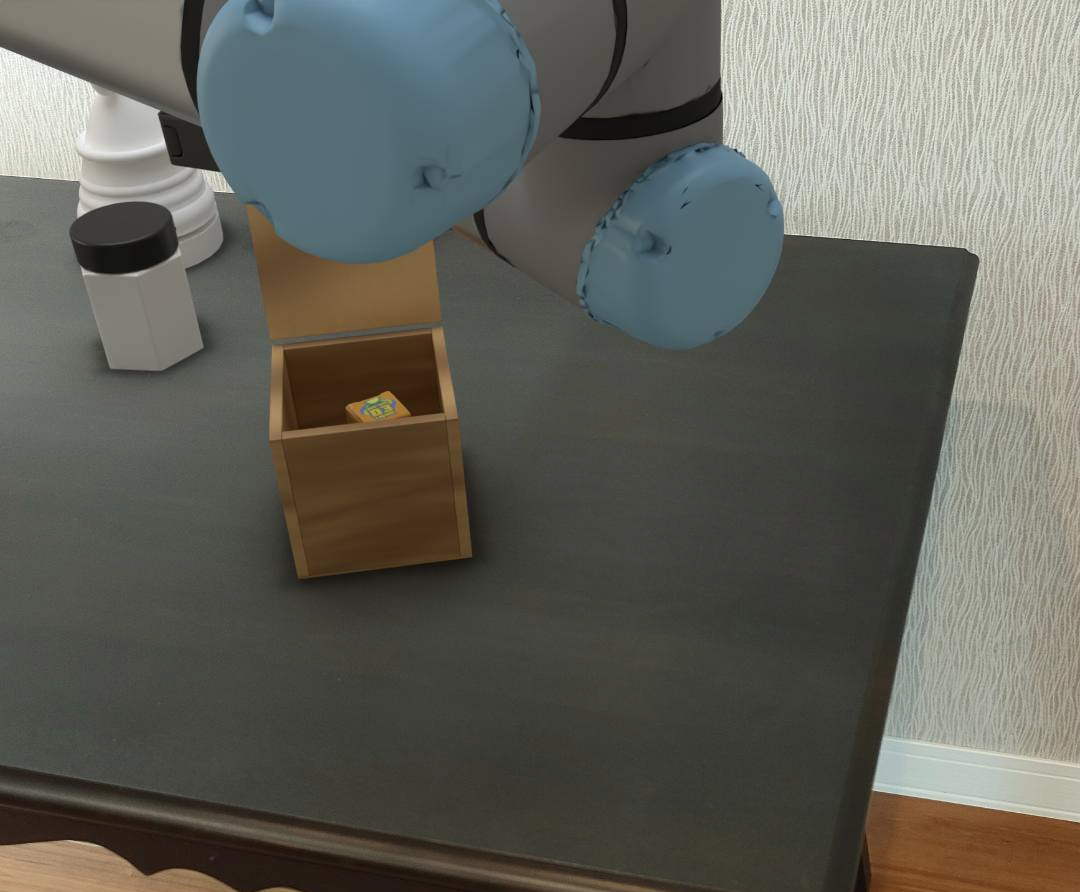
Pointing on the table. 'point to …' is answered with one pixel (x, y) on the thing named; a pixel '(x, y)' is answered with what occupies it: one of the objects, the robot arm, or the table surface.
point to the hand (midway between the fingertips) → (285, 52)
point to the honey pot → (144, 173)
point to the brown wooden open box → (368, 453)
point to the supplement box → (376, 409)
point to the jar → (137, 285)
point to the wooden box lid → (340, 288)
